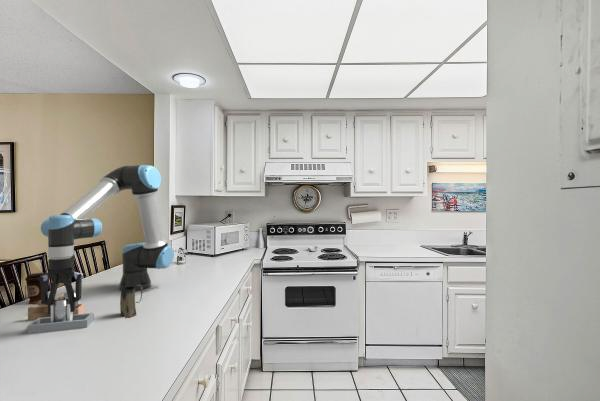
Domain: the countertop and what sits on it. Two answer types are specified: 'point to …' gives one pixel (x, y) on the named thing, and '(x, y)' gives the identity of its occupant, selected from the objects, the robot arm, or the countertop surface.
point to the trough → (60, 324)
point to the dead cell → (69, 302)
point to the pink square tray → (80, 309)
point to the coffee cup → (34, 287)
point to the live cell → (60, 309)
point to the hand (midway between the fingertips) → (61, 321)
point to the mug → (128, 302)
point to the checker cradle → (38, 312)
